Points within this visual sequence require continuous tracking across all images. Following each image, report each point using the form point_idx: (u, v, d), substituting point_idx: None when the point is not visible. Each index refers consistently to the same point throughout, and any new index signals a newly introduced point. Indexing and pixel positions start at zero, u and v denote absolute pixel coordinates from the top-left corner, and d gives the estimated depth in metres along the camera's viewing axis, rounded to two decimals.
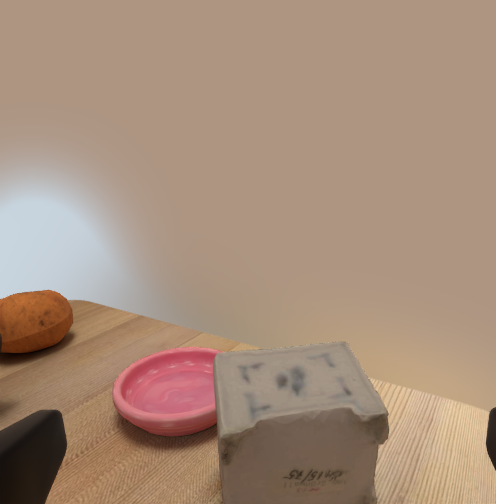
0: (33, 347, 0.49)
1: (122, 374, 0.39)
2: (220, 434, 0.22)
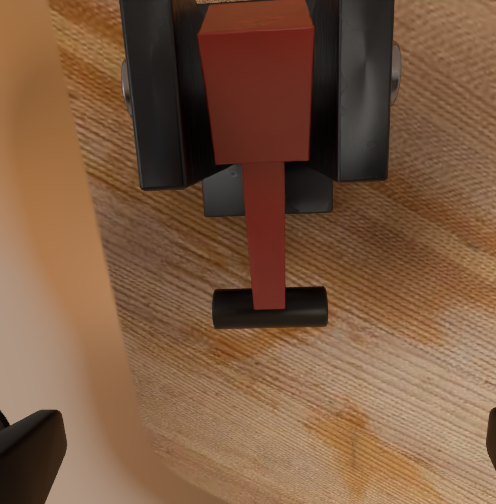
0: None
1: None
2: None
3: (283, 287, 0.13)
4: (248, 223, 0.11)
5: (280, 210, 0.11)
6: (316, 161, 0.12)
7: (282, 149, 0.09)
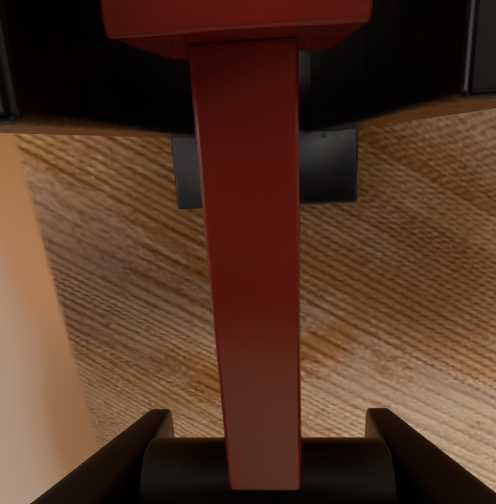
0: None
1: None
2: None
3: (296, 434, 0.06)
4: (212, 260, 0.05)
5: (288, 224, 0.05)
6: (353, 101, 0.06)
7: None
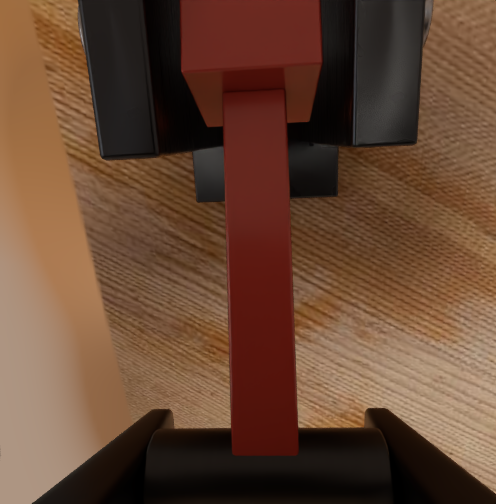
0: None
1: None
2: None
3: (293, 387, 0.07)
4: (229, 224, 0.07)
5: (282, 197, 0.07)
6: (322, 131, 0.10)
7: (281, 44, 0.06)
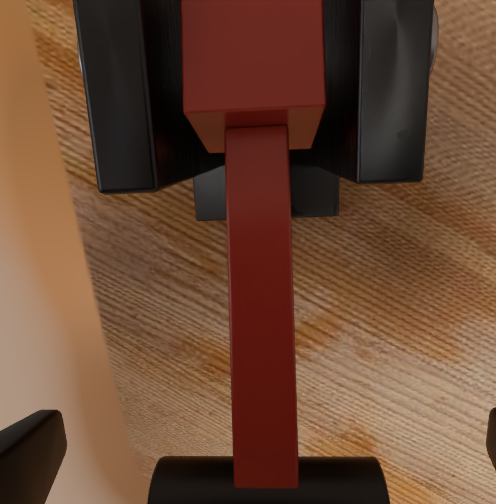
0: None
1: None
2: None
3: (293, 422, 0.07)
4: (231, 262, 0.07)
5: (283, 235, 0.07)
6: (324, 158, 0.10)
7: (284, 86, 0.06)
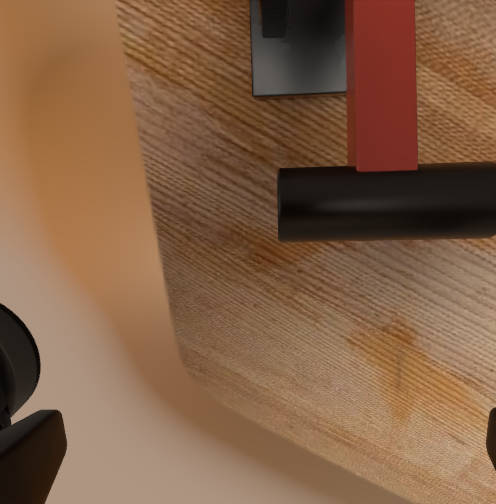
0: None
1: None
2: None
3: (414, 110, 0.07)
4: None
5: None
6: None
7: None
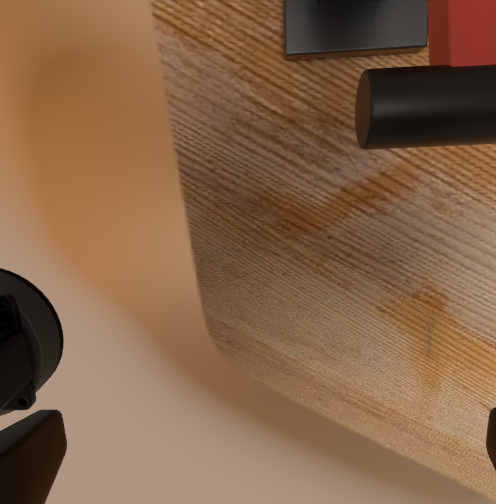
0: None
1: None
2: None
3: None
4: None
5: None
6: None
7: None
